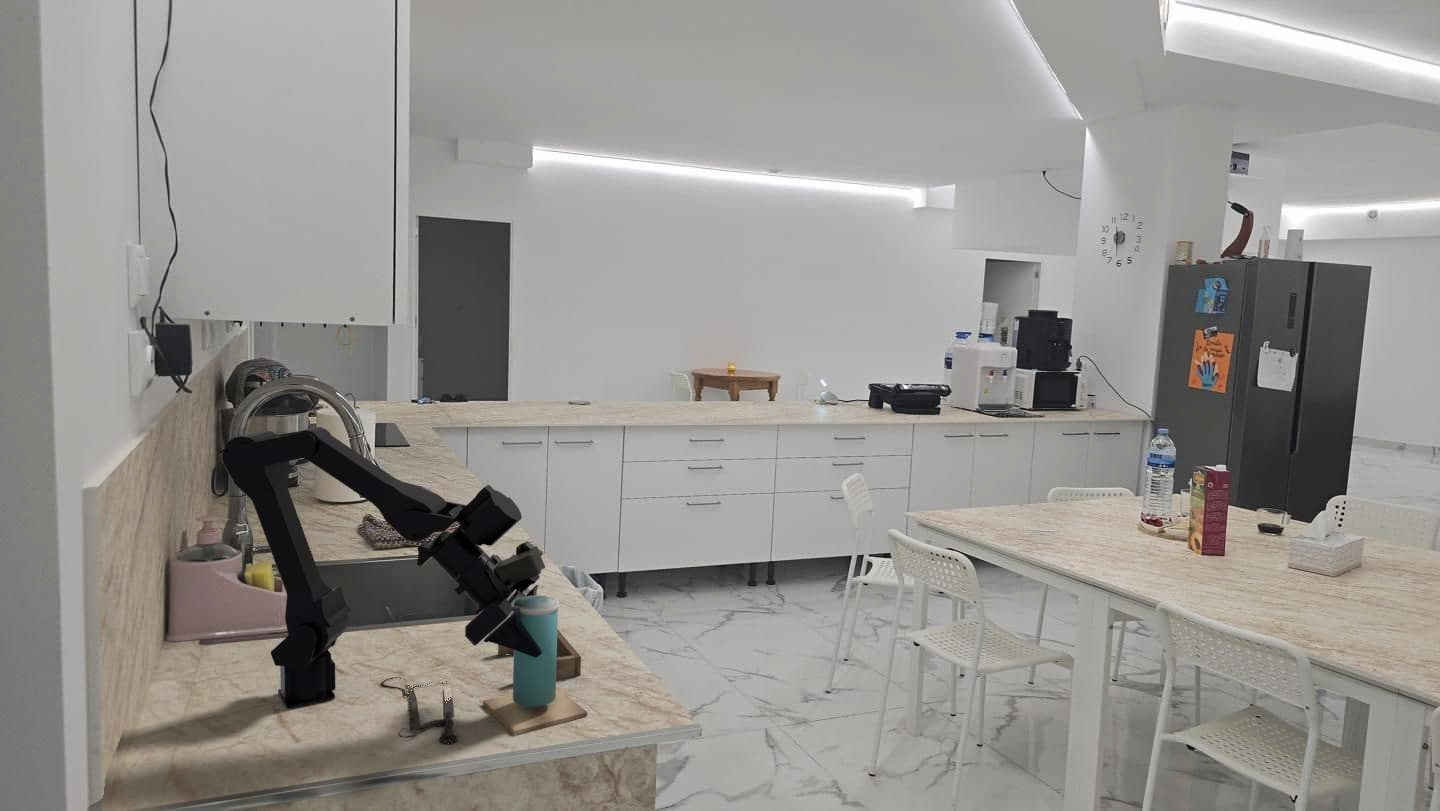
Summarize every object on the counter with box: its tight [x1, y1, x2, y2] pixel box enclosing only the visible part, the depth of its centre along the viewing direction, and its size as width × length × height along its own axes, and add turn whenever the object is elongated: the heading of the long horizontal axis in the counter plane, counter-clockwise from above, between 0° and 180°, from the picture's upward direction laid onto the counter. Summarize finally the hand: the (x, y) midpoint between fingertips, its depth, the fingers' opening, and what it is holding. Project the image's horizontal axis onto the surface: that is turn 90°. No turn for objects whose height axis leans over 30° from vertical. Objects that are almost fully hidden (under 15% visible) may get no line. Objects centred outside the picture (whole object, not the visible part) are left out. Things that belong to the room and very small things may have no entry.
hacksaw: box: [380, 676, 458, 745], centre depth 129 cm, size 24×10×2 cm, turn 18°
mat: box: [482, 686, 588, 736], centre depth 131 cm, size 11×11×1 cm
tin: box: [512, 594, 560, 707], centre depth 130 cm, size 6×6×14 cm
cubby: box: [497, 628, 582, 680], centre depth 147 cm, size 10×13×3 cm
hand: (544, 646), depth 130 cm, fingers closed on tin, 6 cm apart
